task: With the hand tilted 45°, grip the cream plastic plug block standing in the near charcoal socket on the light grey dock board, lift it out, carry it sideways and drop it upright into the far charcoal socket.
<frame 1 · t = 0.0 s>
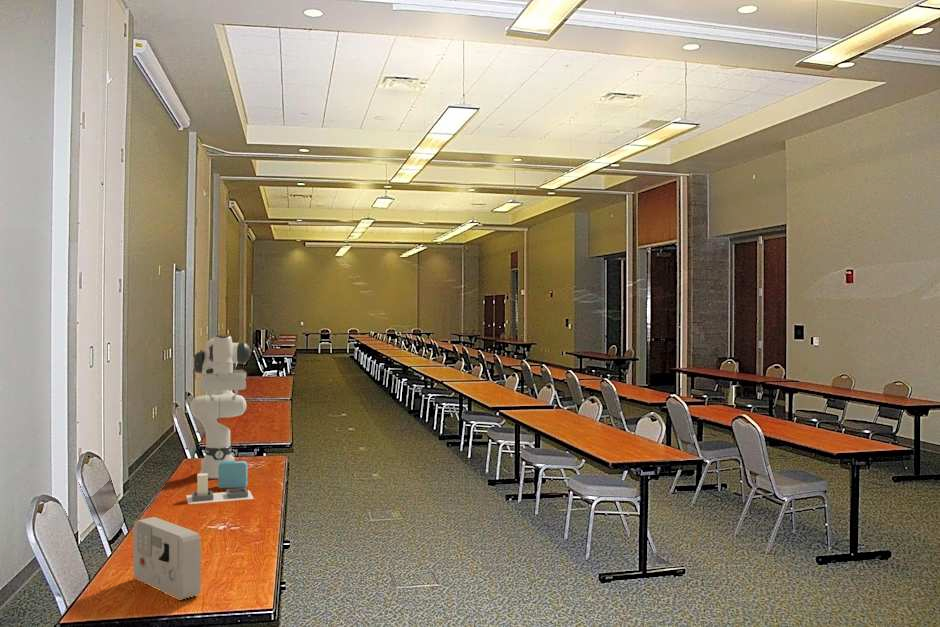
hand: (222, 400, 350), 39 cm above the table, tool pointing down, fingers open, 8 cm apart
plug block: (202, 498, 323), point 1 cm above the table, touching dock
dock: (219, 499, 326), on the table
data package: (232, 489, 345), on the table
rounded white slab: (165, 588, 223), on the table
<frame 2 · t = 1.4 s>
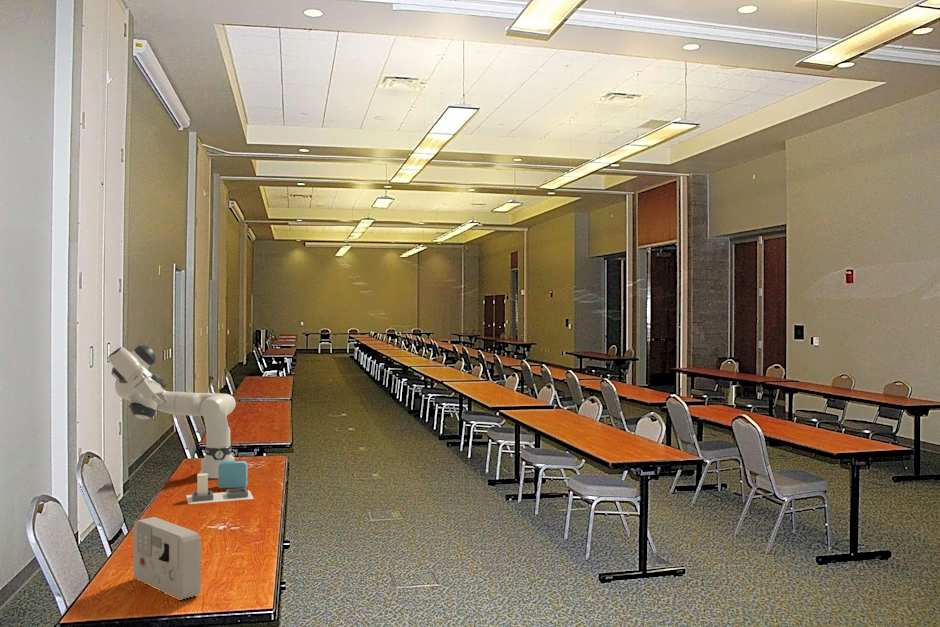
hand: (164, 403, 323), 41 cm above the table, tool tilted 45°, fingers open, 8 cm apart
nothing on the table moved.
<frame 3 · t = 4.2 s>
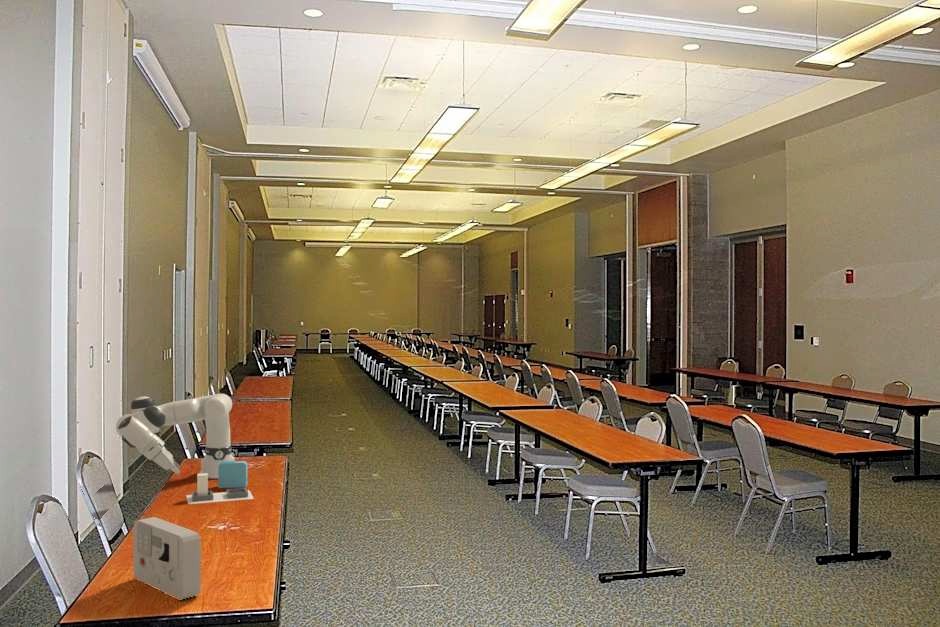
hand: (178, 470, 319), 13 cm above the table, tool tilted 45°, fingers open, 8 cm apart
nothing on the table moved.
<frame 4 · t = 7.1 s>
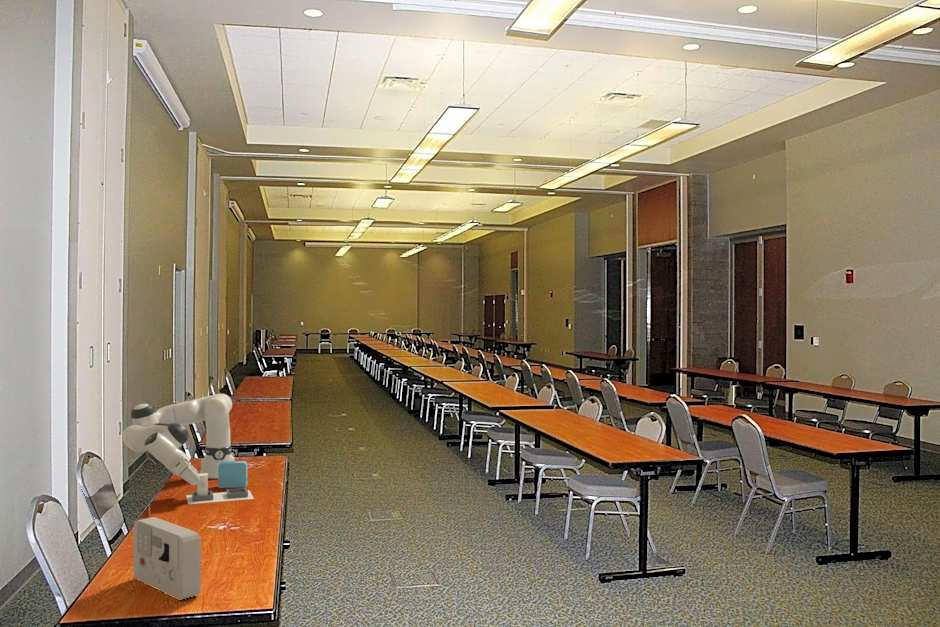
hand: (204, 485, 323), 6 cm above the table, tool tilted 45°, fingers closed on plug block, 4 cm apart
plug block: (202, 498, 323), point 1 cm above the table, touching dock, gripper
everything else where it was.
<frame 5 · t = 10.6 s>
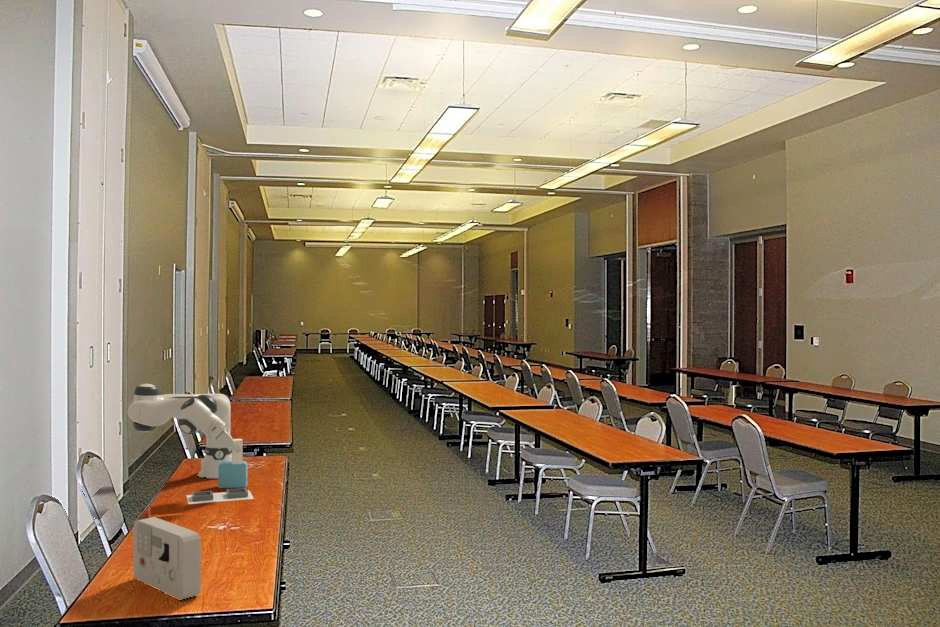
hand: (238, 450, 329), 20 cm above the table, tool tilted 45°, fingers closed on plug block, 4 cm apart
plug block: (237, 463, 328), point 15 cm above the table, touching gripper
everything else where it was.
when the fingers open (8 cm above the table, at t = 13.6 s): plug block drops 1 cm, resting on dock.
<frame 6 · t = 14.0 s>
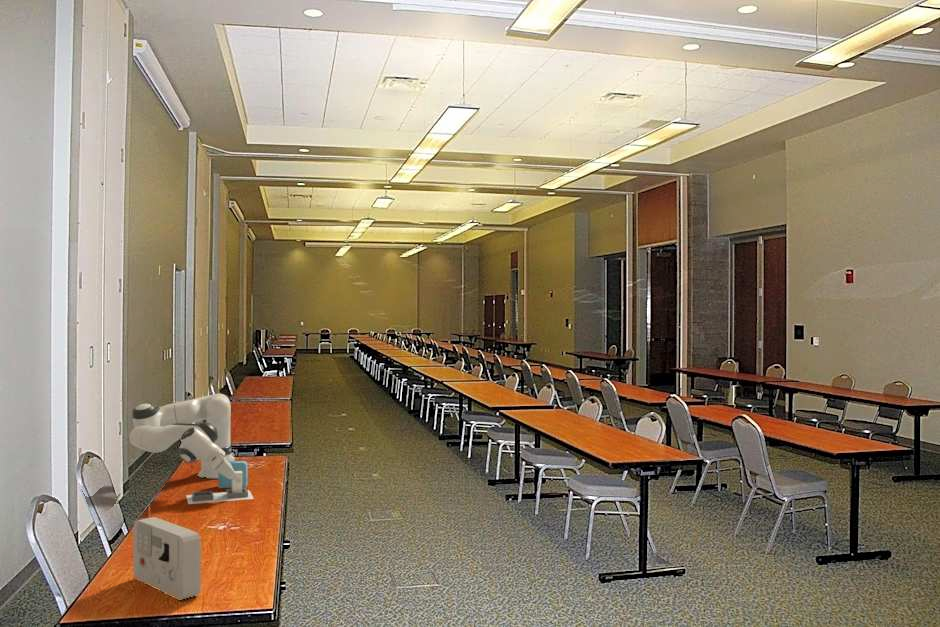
hand: (238, 479, 329), 8 cm above the table, tool tilted 45°, fingers open, 8 cm apart
plug block: (236, 495, 328), point 1 cm above the table, touching dock
everything else where it was.
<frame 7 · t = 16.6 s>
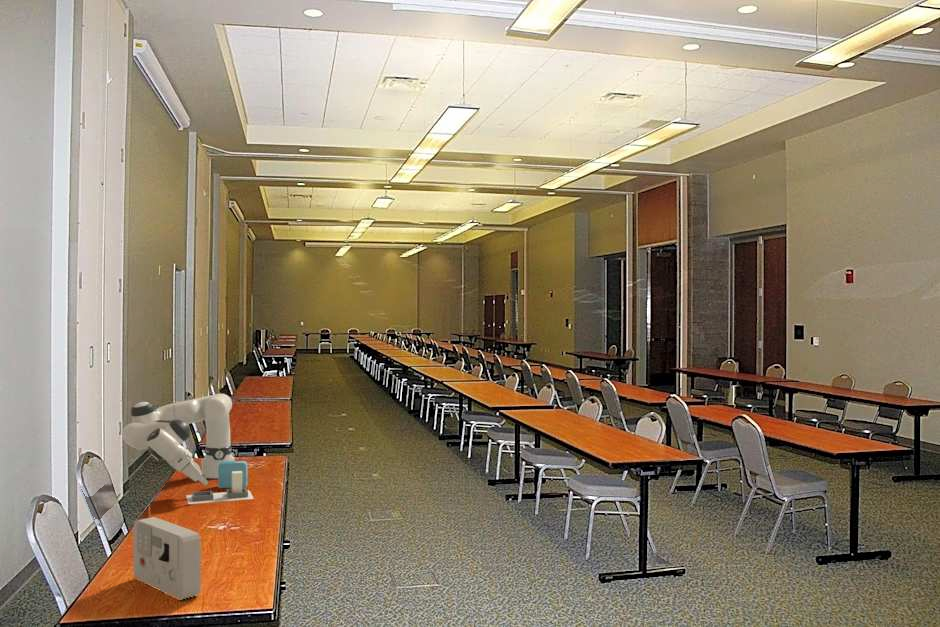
hand: (206, 481, 324), 8 cm above the table, tool tilted 45°, fingers open, 8 cm apart
nothing on the table moved.
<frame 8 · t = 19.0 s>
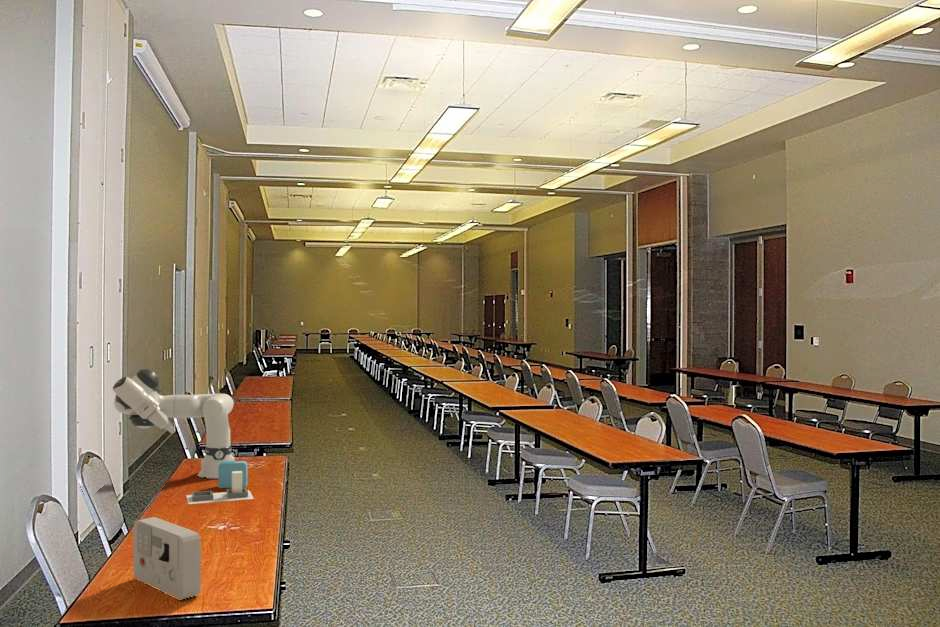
hand: (173, 430, 322), 29 cm above the table, tool tilted 45°, fingers open, 8 cm apart
nothing on the table moved.
at the end: plug block 0.1 cm from the target spot on the dock, point 1.0 cm above the dock's base; plug block tilted 0°; the gripper is holding nothing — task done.
